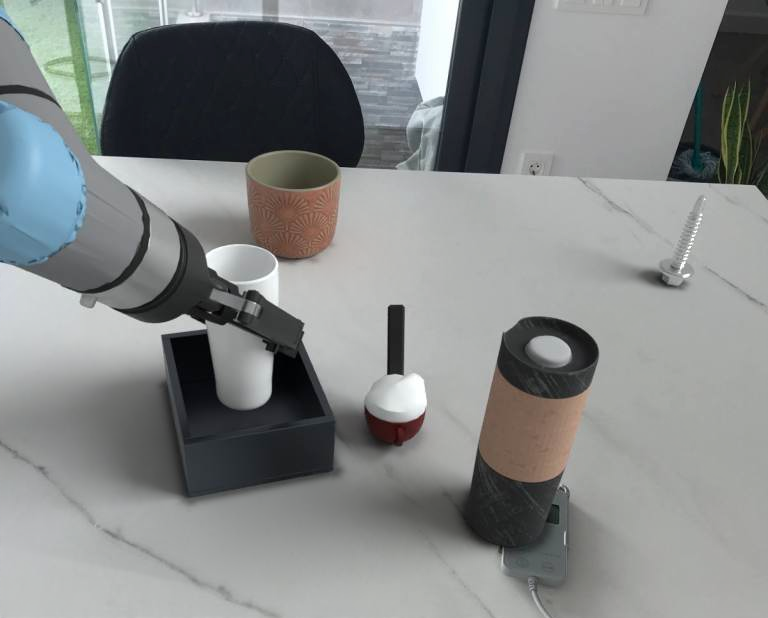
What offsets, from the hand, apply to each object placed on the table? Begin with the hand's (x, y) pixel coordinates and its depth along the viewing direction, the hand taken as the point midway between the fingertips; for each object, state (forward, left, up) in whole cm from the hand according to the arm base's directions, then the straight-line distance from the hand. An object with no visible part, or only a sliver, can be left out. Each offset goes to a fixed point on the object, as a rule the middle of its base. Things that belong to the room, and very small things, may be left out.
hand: (262, 332), depth 75 cm
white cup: (+2, -2, -6) cm, 7 cm away
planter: (-32, +11, -10) cm, 36 cm away
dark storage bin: (+3, -2, -9) cm, 10 cm away
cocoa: (+7, +12, -10) cm, 17 cm away
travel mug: (+21, +18, -10) cm, 29 cm away
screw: (-12, +60, -10) cm, 62 cm away
